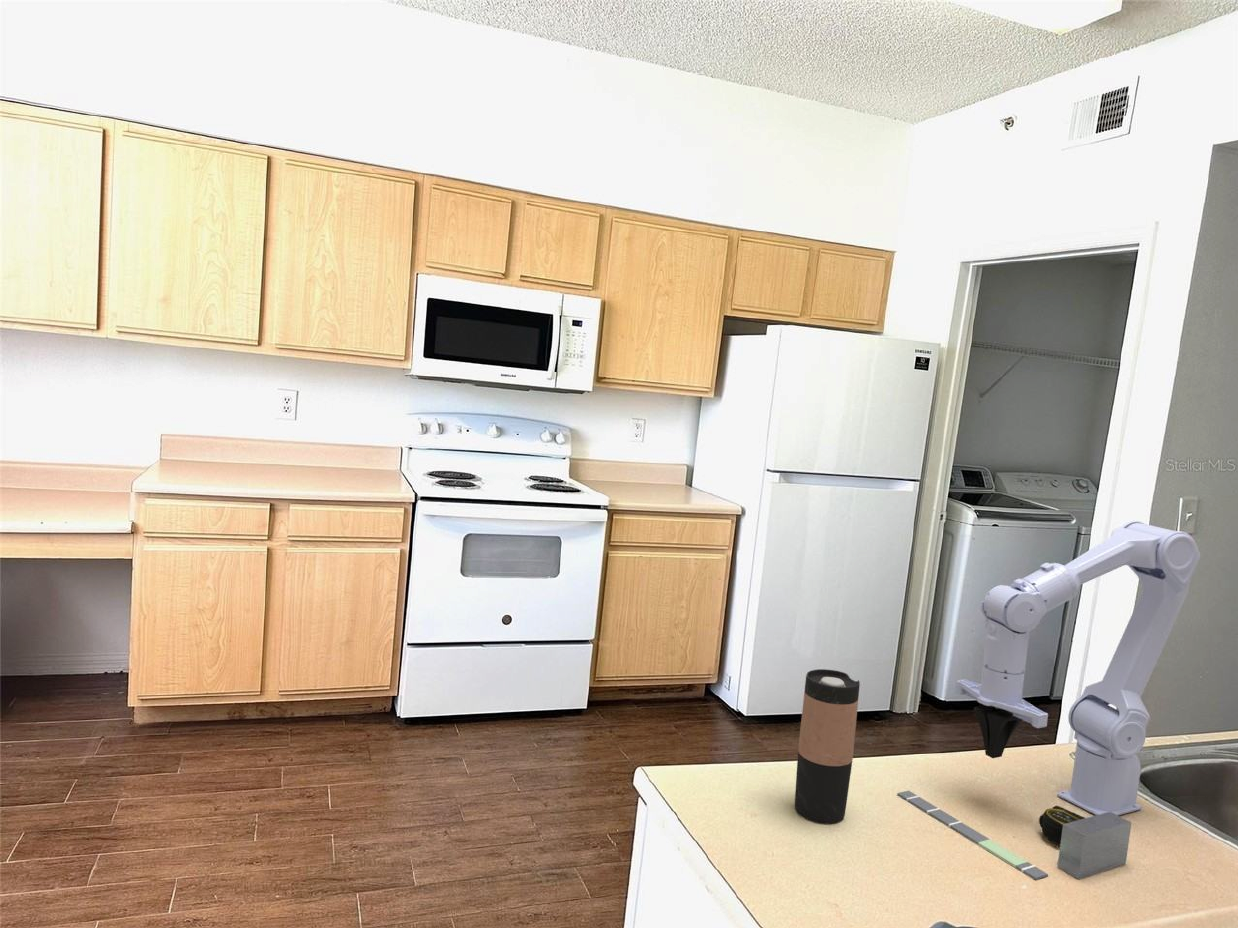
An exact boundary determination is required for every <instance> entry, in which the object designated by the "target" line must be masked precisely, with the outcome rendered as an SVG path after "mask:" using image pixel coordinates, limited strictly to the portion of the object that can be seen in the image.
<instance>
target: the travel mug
mask: <svg viewBox="0 0 1238 928" xmlns="http://www.w3.org/2000/svg"><path fill="white" fill-rule="evenodd" d="M804 683H805V684H804V691H803V692H804V693H803V702H802V710H801V721H800V729H799V740H798V746H797V747H798V749H797V760H796V761H797V762H796V776H795V777H796V778H795V792H794V793H795V794H794V809H795V812H796V813H797V815H799V817H802V818H803V819H805V820H807V821H810V822H812V823H815V824H822V825H836V824H838V823H841V822H842V821H843V820H844V818H845V816H846V810H847V803H848V795H849V789H850V780H851V773H852V767H853V759H854V750H855V749H854V747H855V738H856V727H857V716H858V705H859V695H860V686H861V684H860V680H859V679H858V680H857V681H856V680H853V679H852V678H851V677H850V676H849V674H848V673H846V672H843V671H839V670H835V669H826V668H825V669H821V668H820V669H813V670H810V671H808V672H807V673H806V674H805V681H804Z"/></svg>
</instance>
